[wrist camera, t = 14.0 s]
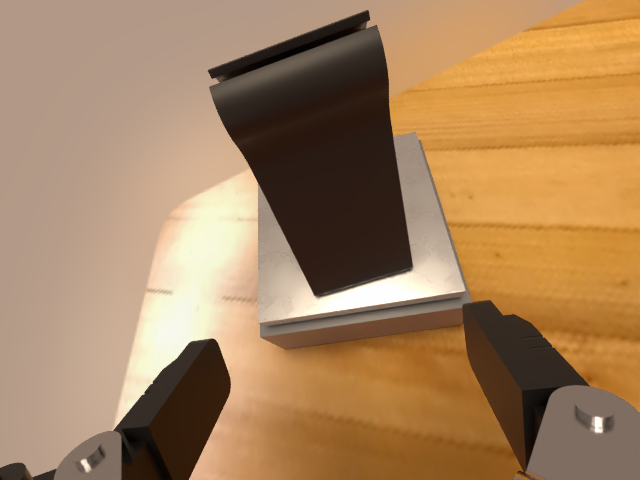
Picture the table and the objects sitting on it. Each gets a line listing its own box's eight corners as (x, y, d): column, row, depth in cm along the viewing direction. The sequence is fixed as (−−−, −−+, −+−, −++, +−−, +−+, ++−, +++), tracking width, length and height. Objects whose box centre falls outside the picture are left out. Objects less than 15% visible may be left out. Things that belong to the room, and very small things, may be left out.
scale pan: (415, 141, 25) (415, 131, 24) (462, 296, 19) (465, 291, 18) (263, 176, 26) (258, 168, 26) (264, 326, 21) (258, 323, 20)
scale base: (416, 172, 30) (417, 132, 25) (460, 325, 23) (473, 305, 19) (279, 201, 32) (259, 169, 28) (285, 349, 25) (260, 337, 21)
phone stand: (290, 183, 24) (203, 12, 14) (370, 157, 24) (341, -42, 13) (315, 298, 20) (213, 175, 9) (413, 270, 19) (422, 105, 9)
